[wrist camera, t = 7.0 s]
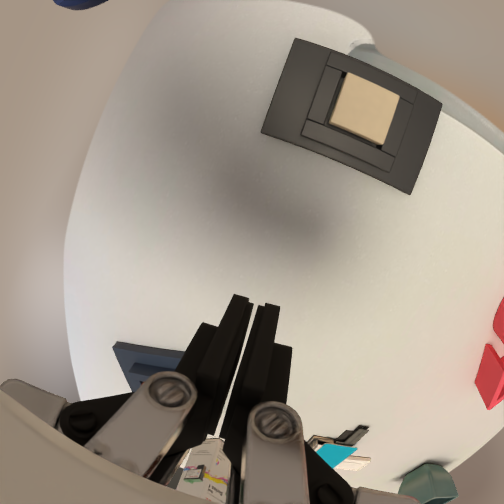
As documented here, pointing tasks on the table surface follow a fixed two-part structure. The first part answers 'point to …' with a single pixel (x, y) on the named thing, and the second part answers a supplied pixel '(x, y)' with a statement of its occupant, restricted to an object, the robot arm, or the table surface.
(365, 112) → the tan square block
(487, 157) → the table surface
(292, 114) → the stepped dark pedestal
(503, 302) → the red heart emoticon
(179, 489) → the ink box
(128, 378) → the stepped blue base
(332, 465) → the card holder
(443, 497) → the flower pot
